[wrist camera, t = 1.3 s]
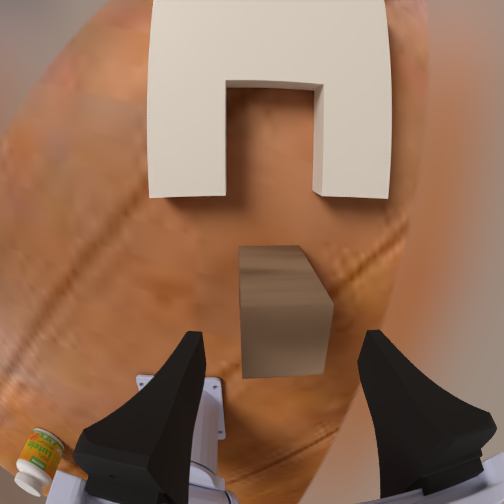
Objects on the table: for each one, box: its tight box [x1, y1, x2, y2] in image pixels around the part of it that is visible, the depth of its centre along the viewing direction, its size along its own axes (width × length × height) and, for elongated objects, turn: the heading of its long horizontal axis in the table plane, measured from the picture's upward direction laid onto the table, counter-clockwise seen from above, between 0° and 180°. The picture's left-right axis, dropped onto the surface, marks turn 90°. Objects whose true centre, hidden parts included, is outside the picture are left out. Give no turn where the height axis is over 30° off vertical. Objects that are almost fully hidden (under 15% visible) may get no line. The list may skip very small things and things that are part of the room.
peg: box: [239, 246, 334, 379], centre depth 19 cm, size 4×4×9 cm
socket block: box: [147, 0, 392, 199], centre depth 18 cm, size 15×16×2 cm
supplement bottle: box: [15, 428, 64, 496], centre depth 26 cm, size 5×5×10 cm
